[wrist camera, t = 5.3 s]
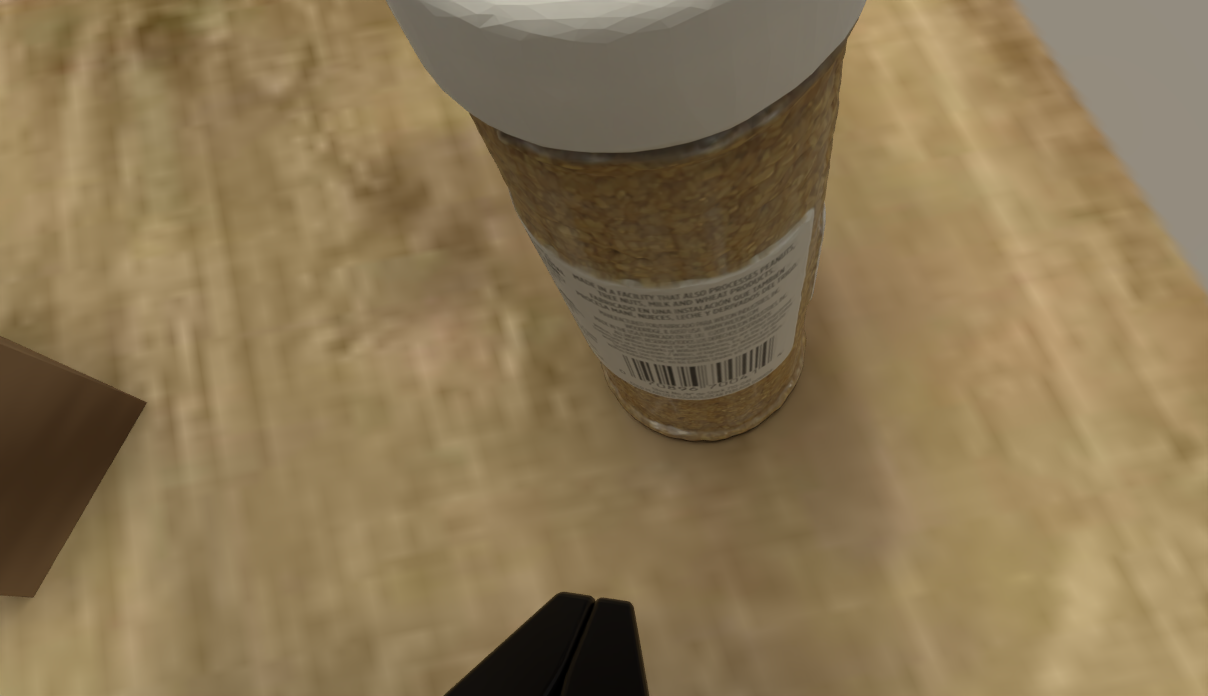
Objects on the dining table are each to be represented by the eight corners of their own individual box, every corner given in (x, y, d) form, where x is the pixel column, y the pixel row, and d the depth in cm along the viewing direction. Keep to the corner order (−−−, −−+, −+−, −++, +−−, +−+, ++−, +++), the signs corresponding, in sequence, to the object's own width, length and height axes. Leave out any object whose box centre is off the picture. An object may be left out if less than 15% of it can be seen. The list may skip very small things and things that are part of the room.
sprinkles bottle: (818, 269, 19) (953, -463, 6) (786, 466, 18) (879, 27, 5) (622, 243, 20) (405, -433, 7) (578, 427, 19) (225, -18, 6)
